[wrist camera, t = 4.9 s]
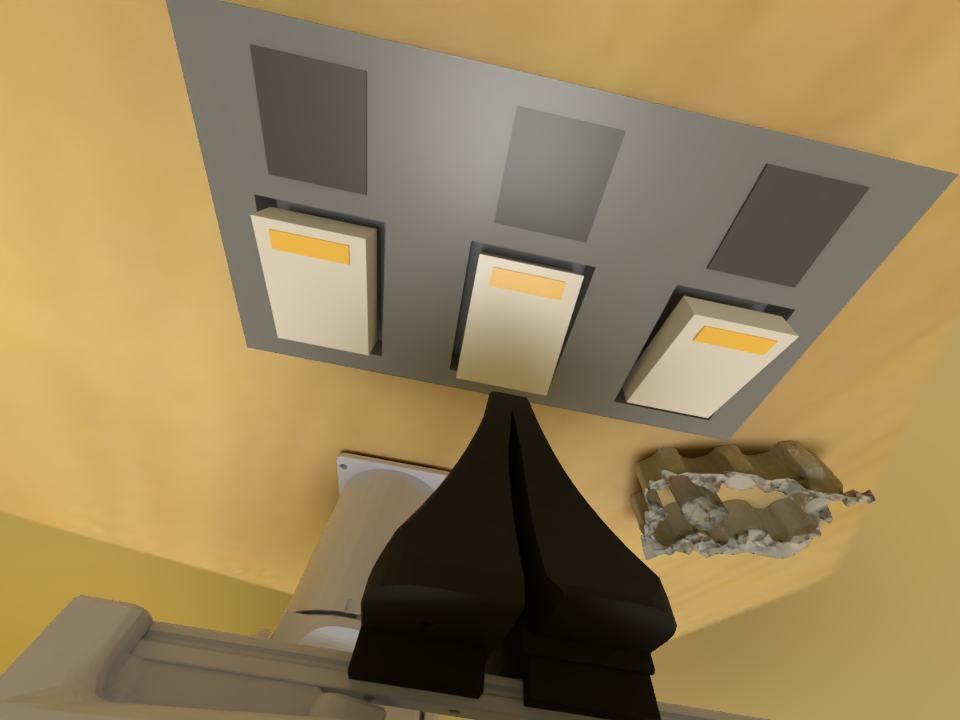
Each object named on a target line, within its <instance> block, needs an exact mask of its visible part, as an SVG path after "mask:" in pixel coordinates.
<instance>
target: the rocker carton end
mask: <svg viewBox="0 0 960 720" xmlns="http://www.w3.org/2000/svg"><path fill="white" fill-rule="evenodd" d="M798 337H799V335H798V334H797V333H796V332H795V331H794V330H793V329H792V327H791V326H790V325H789V324H788V323H787V322H786V321H785V319H784V318H783V317H782V316H777V315H772V314H768V313H763V312H758V311H754V310H749V309H744V308H739V307H735V306H730V305H725V304H720V303H716V302H711V301H706V300H702V299H697V298H692V297H687V296H683V298H682V299H681V300H680V302H679V303H678V305H677V306H676V307H675V309H674V310H673V312H672V313H671V314H670V316H669V317H668V319H667V320H666V321H665V323H664V324H663V326H662V327H661V328H660V330H659V331H658V333H657V334H656V335H655V337H654V338H653V340H652V341H651V342H650V344H649V345H648V347H647V348H646V349H645V351H644V352H643V354H642V355H641V356H640V358H639V359H638V361H637V362H636V363H635V365H634V366H633V368H632V369H631V371H630V373H629V374H628V376H627V378H626V380H625V382H624V384H623V385H622V387H623V391H624V395H625V399H626V402H628V403H633V404H638V405H643V406H649V407H654V408H659V409H664V410H669V411H674V412H679V413H684V414H689V415H694V416H699V417H705V418H709V417H710V416H711V415H712V414H713V413H714V412H715V411H716V410H718V409H719V408H720V407H721V406H722V405H723V404H724V403H725V402H727V401H728V400H729V399H730V398H731V397H732V396H733V395H734V394H735V393H737V392H738V391H739V390H740V389H741V388H742V387H743V386H744V385H746V384H747V383H748V382H749V381H750V380H751V379H752V378H753V377H754V376H756V375H757V374H758V373H759V372H760V371H761V370H762V369H763V368H765V367H766V366H767V365H768V364H769V363H770V362H771V361H772V360H773V359H775V358H776V357H777V356H778V355H779V354H780V353H781V352H782V351H784V350H785V349H786V348H787V347H788V346H789V345H790V344H791V343H792V342H794V341H795V340H796V339H797V338H798Z"/></svg>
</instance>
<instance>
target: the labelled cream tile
mask: <svg viewBox="0 0 960 720" xmlns="http://www.w3.org/2000/svg"><path fill="white" fill-rule="evenodd" d="M251 219H252V224H253V228H254V233H255V237H256V242H257V246H258V251H259V255H260V260H261V264H262V269H263V273H264V277H265V282H266V286H267V291H268V295H269V300H270V304H271V309H272V313H273V318H274V322H275V327H276V331H277V336H278V338H282V339H287V340H292V341H298V342H303V343H308V344H313V345H318V346H323V347H328V348H333V349H338V350H343V351H349V352H354V353H359V354H364V355H369V354H370V352H371V351H372V349H373V347H374V345H375V344H376V342H377V229H374V228H370V227H365V226H360V225H356V224H351V223H346V222H341V221H337V220H332V219H327V218H323V217H318V216H313V215H308V214H304V213H299V212H294V211H289V210H285V209H280V208H275V207H268V208H266V209H263V210H261V211H258V212H256V213H254V214H251Z"/></svg>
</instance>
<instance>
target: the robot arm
mask: <svg viewBox="0 0 960 720" xmlns="http://www.w3.org/2000/svg"><path fill="white" fill-rule="evenodd" d="M336 462H337V475H338V488H339V499H338V501H337V503H336V506H335V508H334V510H333V512H332V514H331V516H330V518H329V520H328V522H327V525H326V527H325V529H324V531H323V533H322V535H321V537H320V539H319V541H318V544H317V546H316V548H315V550H314V552H313V554H312V556H311V558H310V560H309V563H308V565H307V567H306V569H305V571H304V573H303V575H302V577H301V579H300V582H299V584H298V586H297V588H296V590H295V592H294V594H293V596H292V599H291V601H290V603H289V605H288V607H287V609H286V611H285V612H284V614H283V616H282V617H281V619H280V621H279V622H278V624H277V626H276V628H275V629H274V631H273V633H272V635H271V637H270V638H269V639H268V636H269V634H270V631H271V629H267V628H264V627H261V628H259V629H257V631H256V632H255V634H251V635H249V636H245V635H239V634H233V633H227V632H221V631H215V630H208V629H202V628H195V627H189V626H183V625H177V624H170V623H165V622H159V621H153V618H152V616H151V615H150V613H149V612H148V611H147V610H145V609H144V608H142V607H140V606H137V605H135V604H131V603H127V602H121V601H114V600H108V599H102V598H96V597H90V596H83V595H81V596H79V597H75V598H74V599H73V600H72V601H71V602H70V603H69V604H68V605H67V607H66V608H64V609H63V611H62V612H61V613H60V614H59V615H58V616H57V617H56V618H55V619H54V620H53V621H52V622H51V623H50V624H49V626H47V627H46V629H45V630H44V631H43V632H42V633H41V634H40V635H39V636H38V637H37V638H36V639H35V640H34V641H33V642H32V643H31V644H30V645H29V647H28V648H27V649H26V650H25V651H24V652H23V653H22V654H21V655H20V656H19V657H18V658H17V659H16V660H15V661H14V663H12V665H11V666H10V667H9V668H8V669H7V670H6V671H5V672H4V673H3V674H2V675H1V676H0V720H439V714H443V715H449V716H455V717H462V718H468V719H475V720H769V719H763V718H756V717H750V716H744V715H738V714H732V713H725V712H719V711H713V710H707V709H701V708H694V707H688V706H682V705H676V704H669V703H663V702H657V701H656V697H655V694H654V689H653V686H652V682H651V678H650V675H653V674H654V673H655V668H654V665H653V661H652V657H651V652H652V651H654V650H655V649H657V648H658V647H660V646H661V645H662V644H664V643H665V642H667V641H668V640H669V639H670V638H671V637H672V636H673V635H674V633H675V631H676V627H677V624H676V621H675V618H674V615H673V613H672V610H671V606H670V603H669V600H668V597H667V595H666V593H665V590H664V588H663V586H662V583H661V581H660V578H659V577H658V576H657V575H656V574H655V573H654V572H653V571H652V570H651V569H649V568H648V567H647V566H646V565H645V564H644V563H643V562H642V561H641V560H640V559H639V558H638V557H637V556H636V555H635V554H634V553H633V552H632V551H630V550H629V549H628V548H627V547H626V546H625V545H624V543H623V542H622V541H621V540H620V539H619V538H618V537H617V536H616V535H615V534H614V533H613V532H612V531H611V530H610V529H609V528H608V526H607V525H606V524H605V523H604V522H603V521H602V520H601V518H600V517H599V516H598V515H597V514H596V512H595V511H594V510H593V509H592V508H591V506H590V505H589V504H588V503H587V502H586V500H585V499H584V498H583V496H582V495H581V494H580V492H579V491H578V490H577V488H576V487H575V485H574V484H573V483H572V481H571V480H570V478H569V477H568V475H567V474H566V472H565V471H564V469H563V468H562V466H561V464H560V463H559V461H558V459H557V458H556V456H555V454H554V452H553V451H552V449H551V447H550V445H549V443H548V441H547V439H546V437H545V436H544V434H543V432H542V430H541V428H540V425H539V423H538V421H537V419H536V417H535V414H534V412H533V410H532V407H531V405H530V403H529V400H528V399H527V397H522V396H517V395H512V394H507V393H502V392H497V391H493V392H491V393H490V395H489V398H488V402H487V406H486V410H485V413H484V417H483V419H482V421H481V423H480V426H479V428H478V430H477V432H476V433H475V435H474V437H473V439H472V440H471V442H470V444H469V445H468V447H467V449H466V450H465V452H464V453H463V455H462V456H461V458H460V459H459V461H458V462H457V463H456V465H455V466H454V468H453V469H452V470H451V471H450V472H448V471H442V470H437V469H432V468H426V467H421V466H415V465H410V464H404V463H399V462H393V461H388V460H382V459H377V458H372V457H366V456H361V455H355V454H350V453H340V454H339V455H338V457H337V459H336Z"/></svg>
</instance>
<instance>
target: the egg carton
mask: <svg viewBox="0 0 960 720" xmlns="http://www.w3.org/2000/svg"><path fill="white" fill-rule="evenodd" d="M635 472H636V474H637V477H638V479H639V482H640V485H641V488H642V492H639V493H635V494H633V495H632V498H631V503H632V506H633V509H634V513H635V515H636V518H637V521H638V524H639V528H640V530H641V532H642V534H644V535H645V536H644V535H641V540H642V545H643V551H644V555H645V559H646V560H649V559H652V558H654V557H656V556H659V555H663V554H667V555H672V554H673V553H674V552H675V551H678V552H683V553H686V554H687V555H689V554H690V553H691V552H692V551H693V550H694V551H696V552H698V553H699V554H701V555H702V556H704V557H706V558H708V557H710V556H712V555H714V554H732V555H735V554H739V553H752V554H757V555H762V556H767V557H771V558H788V557H790V556H793V555H795V554H796V553H798V552H799V551H801V550H802V549H804V548H805V547H807V546H808V545H809V543H810V542H811V540H812V538H813V537H814V536H821V532H820V527H821V524H822V523H823V521H826V522H829V523H831V522H832V516H831V512H830V510H829V508H828V503H829V501H830V500H832V501H837V500H842V501H843V503H844V504H845V505H846V506H849V507H850V506H852V505H854V504H855V503H856V502H866V501H867V502H868V504H869V503H871V502H873V501H875V498H874V495H873V494H872V492H871V491H870V490H868V491H866V492H864V493H859V492H857V491H855V490H853V489H852V490H851V491H848V492H846V493H843V484H842V483H841V482H840V480H839V479H838V478H837V477H836V476H835V475H834V474H833V472H832V471H831V470H830V469H829V468H828V467H827V466H826V465H825V464H824V463H823V462H822V461H821V460H820V459H819V458H818V457H817V456H816V455H815V454H814V453H811V452H808V451H807V450H806V449H805V448H804V447H803V446H802V445H800V444H799V443H798V442H796V441H786V442H778V444H777V445H776V446H775V447H773V448H772V449H770V450H769V451H767V452H764V453H761V454H757V455H745V454H742V453H741V451H740V450H739V448H738V447H737V446H736V444H730V445H725V446H717V447H715V448H714V449H713V450H712V451H711V452H710V453H708V454H707V455H704V456H702V457H698V458H685V457H682V456H680V455H679V454H678V452H677V449H676V448H675V447H666V448H659V449H657V451H656V452H655V454H653V455H652V456H651V457H649V458H647V459H645V460H641V461H637V462H636V464H635ZM670 475H673V476H672V477H671V478H670V479H669V477H670ZM721 483H725V485H726V486H727V487H728V488H730V489H734V490H740V491H742V490H747V489H751V488H753V487H754V486H758V487H759V488H760V489H761V490H763V491H764V492H766V493H770V492H771V491H773V490H776V491H780V492H783V493H784V494H786V495H791V496H790V497H788V498H784V499H780V500H777V501H775V502H773V503H771V504H770V505H769V506H768V507H767V508H766V509H753V508H752V507H751V505H750V504H749V503H748V502H746V501H744V500H738V499H736V500H729V501H725V502H722V501H721V500H720V498H719V497H718V495H717V494H716V492H717V491H719V490H720V485H721ZM665 486H670V489H671V491H672V493H673V495H674V497H675V500H676V502H674V503H671V504H669V505H667V506H666V507H664V508H663V506H662V503H661V501H660V498H659V496H658V494H657V492H656V489H658V490H662V489H663V488H664V487H665Z"/></svg>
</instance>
